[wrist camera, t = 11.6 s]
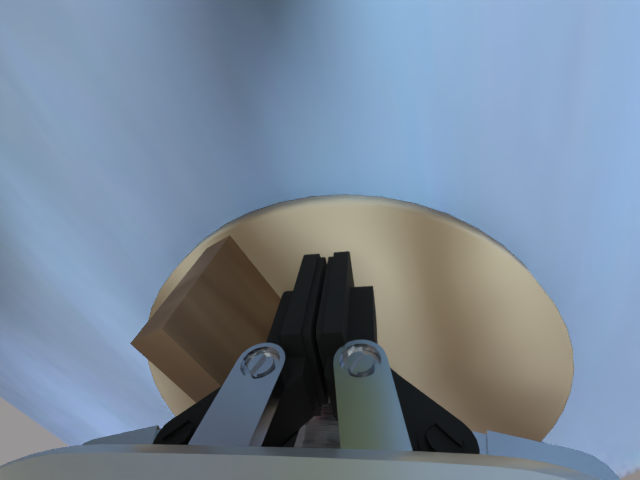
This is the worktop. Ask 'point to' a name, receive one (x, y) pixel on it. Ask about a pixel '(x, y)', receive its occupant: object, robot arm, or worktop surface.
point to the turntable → (390, 303)
